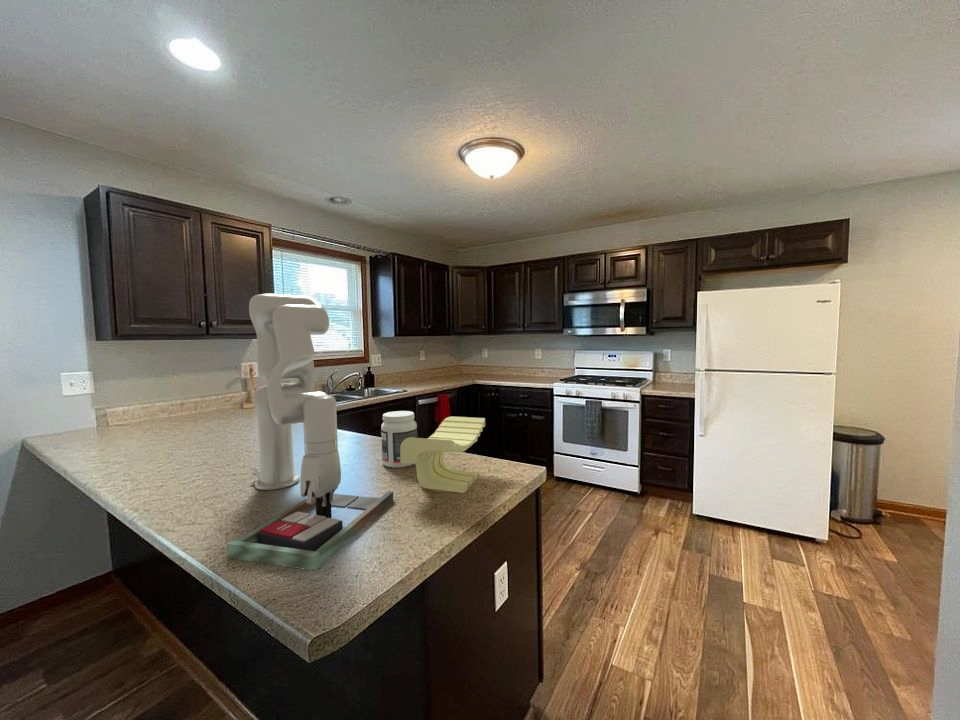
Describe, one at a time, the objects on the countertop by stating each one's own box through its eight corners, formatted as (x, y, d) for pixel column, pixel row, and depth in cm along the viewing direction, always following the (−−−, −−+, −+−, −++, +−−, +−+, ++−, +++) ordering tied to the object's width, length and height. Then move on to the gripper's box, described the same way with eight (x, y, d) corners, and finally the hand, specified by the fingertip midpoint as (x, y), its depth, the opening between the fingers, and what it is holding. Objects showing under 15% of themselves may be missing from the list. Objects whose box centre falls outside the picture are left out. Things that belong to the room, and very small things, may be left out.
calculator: (297, 509, 96) (342, 517, 90) (299, 526, 97) (344, 535, 90) (255, 529, 86) (303, 539, 80) (257, 548, 87) (305, 560, 80)
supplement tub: (423, 459, 146) (422, 410, 145) (409, 470, 134) (408, 417, 133) (391, 457, 149) (390, 409, 148) (375, 468, 137) (373, 416, 135)
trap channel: (227, 557, 81) (227, 543, 81) (327, 494, 114) (327, 484, 114) (314, 570, 76) (314, 556, 76) (393, 500, 109) (393, 490, 109)
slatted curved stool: (443, 464, 139) (442, 415, 138) (485, 468, 134) (485, 418, 133) (401, 498, 110) (399, 436, 109) (453, 504, 106) (452, 440, 105)
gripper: (326, 438, 102) (329, 505, 103) (286, 454, 88) (289, 533, 89) (352, 439, 101) (354, 508, 102) (314, 456, 86) (317, 536, 87)
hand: (324, 519), depth 95 cm, fingers closed
